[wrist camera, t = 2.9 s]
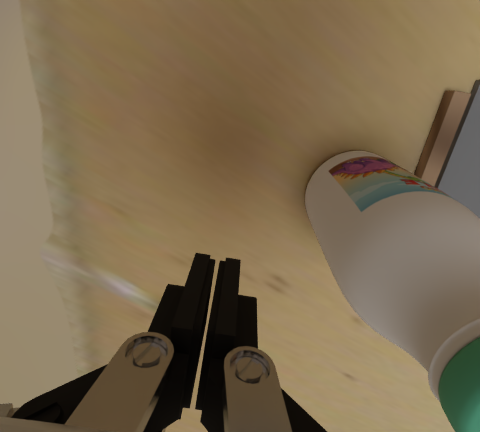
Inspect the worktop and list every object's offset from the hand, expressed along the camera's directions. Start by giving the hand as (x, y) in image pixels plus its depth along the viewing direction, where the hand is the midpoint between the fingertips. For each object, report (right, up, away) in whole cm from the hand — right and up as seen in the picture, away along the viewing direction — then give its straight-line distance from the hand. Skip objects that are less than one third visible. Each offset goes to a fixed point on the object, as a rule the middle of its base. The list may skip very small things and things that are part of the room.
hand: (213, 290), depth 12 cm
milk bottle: (+10, +5, +15) cm, 19 cm away
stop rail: (+15, +4, +15) cm, 22 cm away
